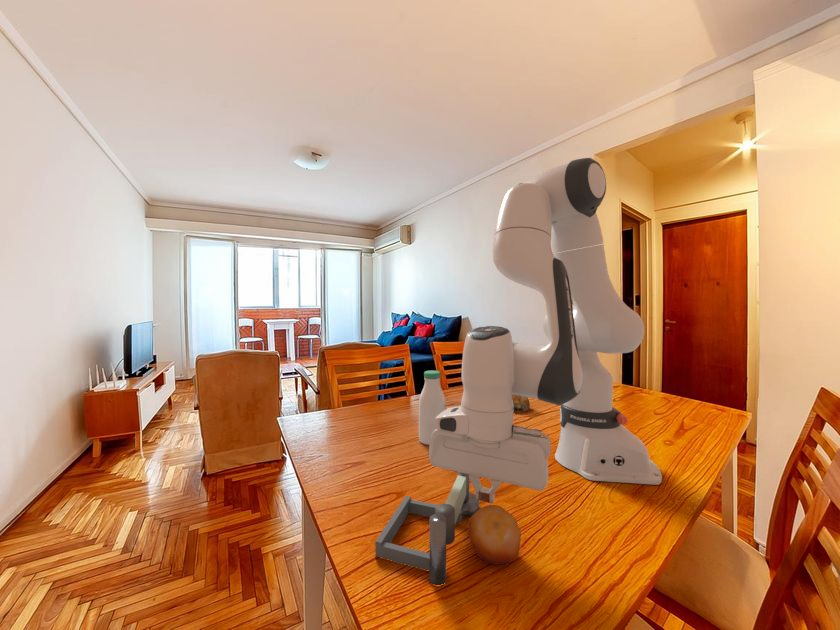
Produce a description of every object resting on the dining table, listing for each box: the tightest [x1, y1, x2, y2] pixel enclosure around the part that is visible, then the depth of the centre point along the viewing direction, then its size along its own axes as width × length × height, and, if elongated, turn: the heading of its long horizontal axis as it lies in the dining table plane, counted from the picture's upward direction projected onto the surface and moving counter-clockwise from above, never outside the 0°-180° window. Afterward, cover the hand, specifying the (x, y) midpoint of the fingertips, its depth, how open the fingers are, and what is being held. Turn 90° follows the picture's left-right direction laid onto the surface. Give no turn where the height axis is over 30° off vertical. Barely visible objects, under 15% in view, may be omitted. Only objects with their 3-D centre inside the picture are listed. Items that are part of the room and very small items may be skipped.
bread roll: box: [511, 394, 531, 413], centre depth 125 cm, size 10×10×8 cm
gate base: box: [461, 491, 480, 518], centre depth 65 cm, size 6×6×2 cm
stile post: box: [429, 514, 447, 585], centre depth 48 cm, size 2×2×9 cm
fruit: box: [468, 504, 522, 565], centre depth 53 cm, size 8×8×8 cm
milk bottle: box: [418, 370, 447, 446], centre depth 96 cm, size 8×8×20 cm
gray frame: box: [374, 495, 463, 572], centre depth 57 cm, size 11×13×2 cm
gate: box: [435, 472, 470, 546], centre depth 58 cm, size 3×17×6 cm, turn 161°
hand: (485, 500), depth 58 cm, fingers closed
